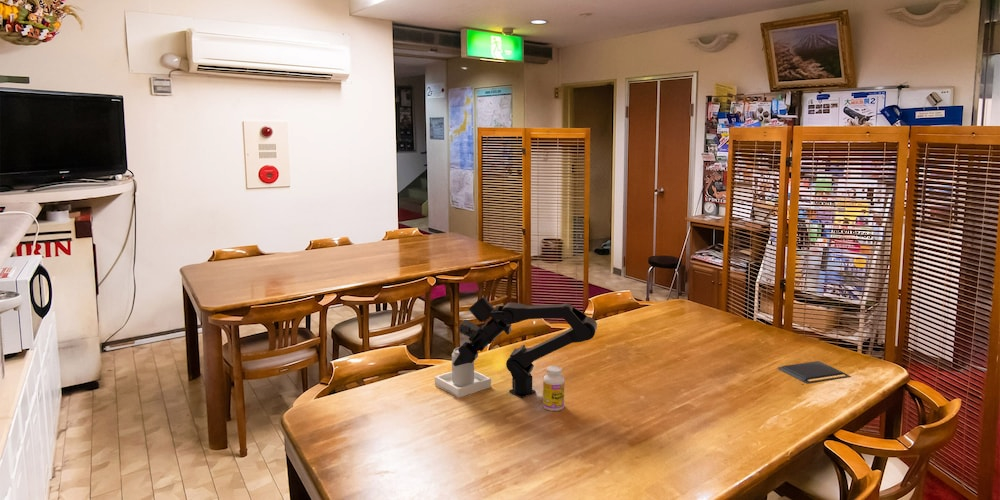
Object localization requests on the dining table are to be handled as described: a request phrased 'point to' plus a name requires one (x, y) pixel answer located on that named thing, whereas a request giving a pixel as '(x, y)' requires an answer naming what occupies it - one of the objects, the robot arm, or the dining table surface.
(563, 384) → the supplement bottle
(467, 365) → the can
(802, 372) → the dark grey book
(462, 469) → the dining table surface
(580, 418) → the dining table surface
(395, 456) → the dining table surface
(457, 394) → the tray
